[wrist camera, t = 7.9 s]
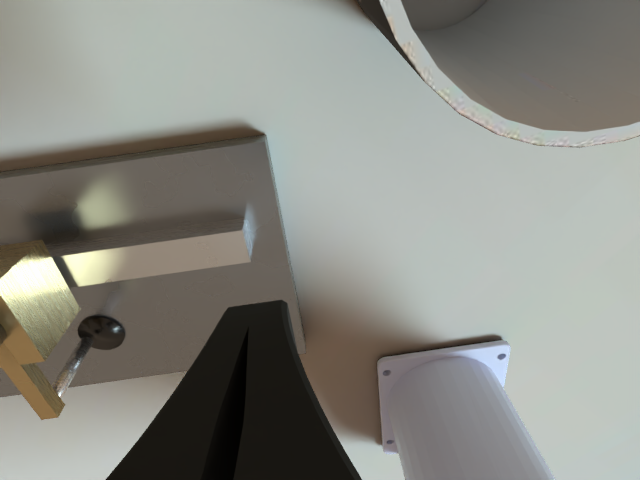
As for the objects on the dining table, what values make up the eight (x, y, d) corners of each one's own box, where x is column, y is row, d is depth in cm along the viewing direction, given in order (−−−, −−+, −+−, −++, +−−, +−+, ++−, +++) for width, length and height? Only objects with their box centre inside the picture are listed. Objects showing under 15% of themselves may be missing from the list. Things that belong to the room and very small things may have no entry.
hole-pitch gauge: (305, 340, 23) (311, 437, 18) (-74, 394, 23) (-180, 508, 18) (265, 134, 17) (256, 190, 12) (-253, 207, 17) (-495, 297, 11)
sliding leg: (116, 344, 20) (71, 431, 16) (64, 351, 20) (7, 441, 16) (54, 227, 17) (-23, 300, 12) (-8, 236, 17) (-106, 312, 12)
